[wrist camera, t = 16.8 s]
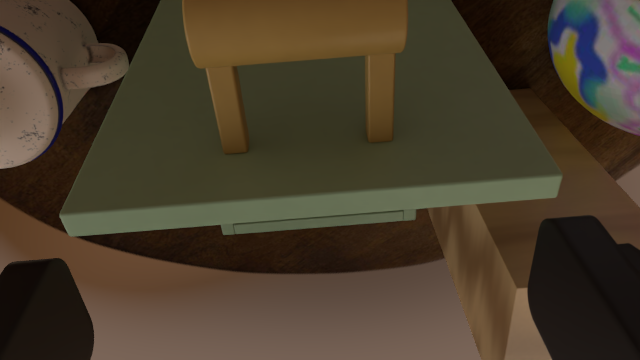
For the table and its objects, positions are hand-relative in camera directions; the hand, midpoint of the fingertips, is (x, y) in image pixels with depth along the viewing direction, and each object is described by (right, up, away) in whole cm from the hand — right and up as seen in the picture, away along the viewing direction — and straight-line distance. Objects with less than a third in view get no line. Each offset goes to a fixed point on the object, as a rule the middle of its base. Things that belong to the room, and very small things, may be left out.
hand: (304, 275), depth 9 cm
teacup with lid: (-18, +11, +28) cm, 35 cm away
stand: (+12, +5, +33) cm, 36 cm away
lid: (0, +6, +11) cm, 12 cm away
